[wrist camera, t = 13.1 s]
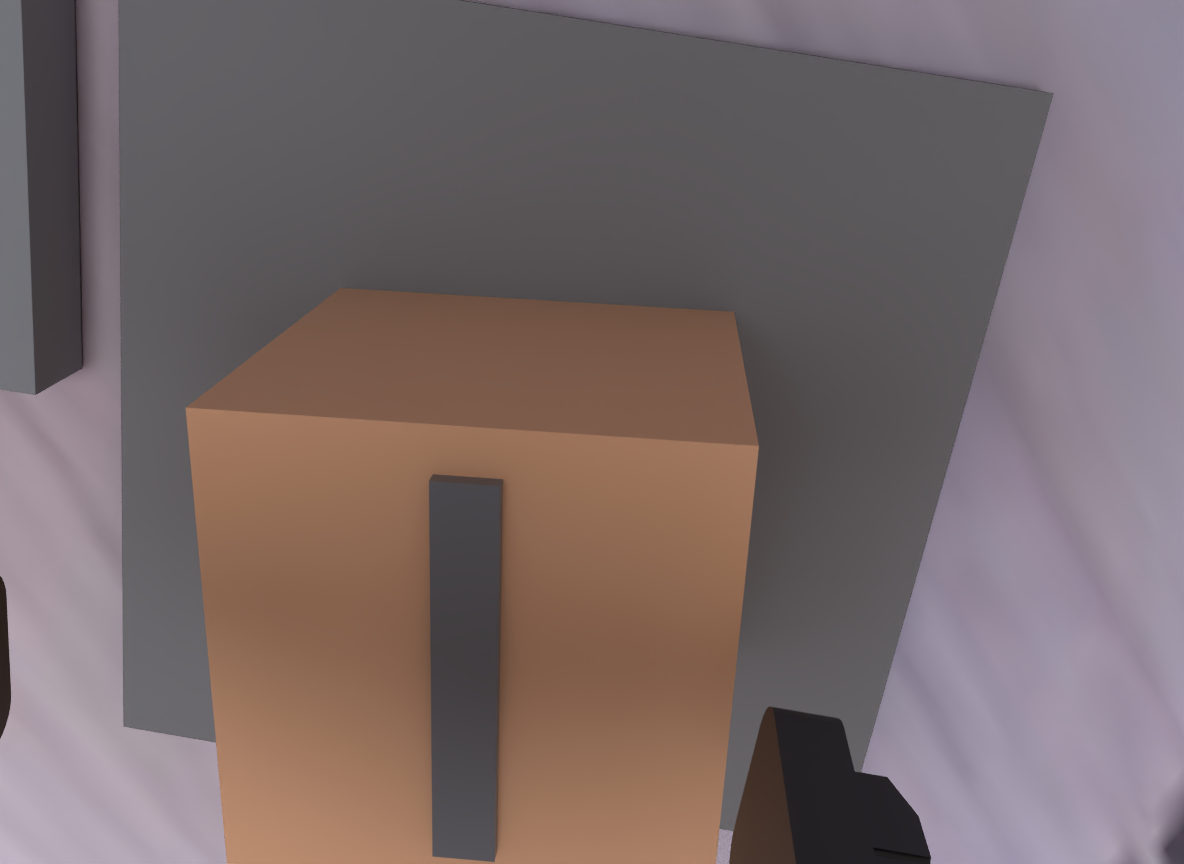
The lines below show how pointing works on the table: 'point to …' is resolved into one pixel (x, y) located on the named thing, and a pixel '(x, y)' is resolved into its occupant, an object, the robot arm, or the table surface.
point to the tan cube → (475, 581)
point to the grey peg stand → (38, 196)
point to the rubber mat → (572, 273)
